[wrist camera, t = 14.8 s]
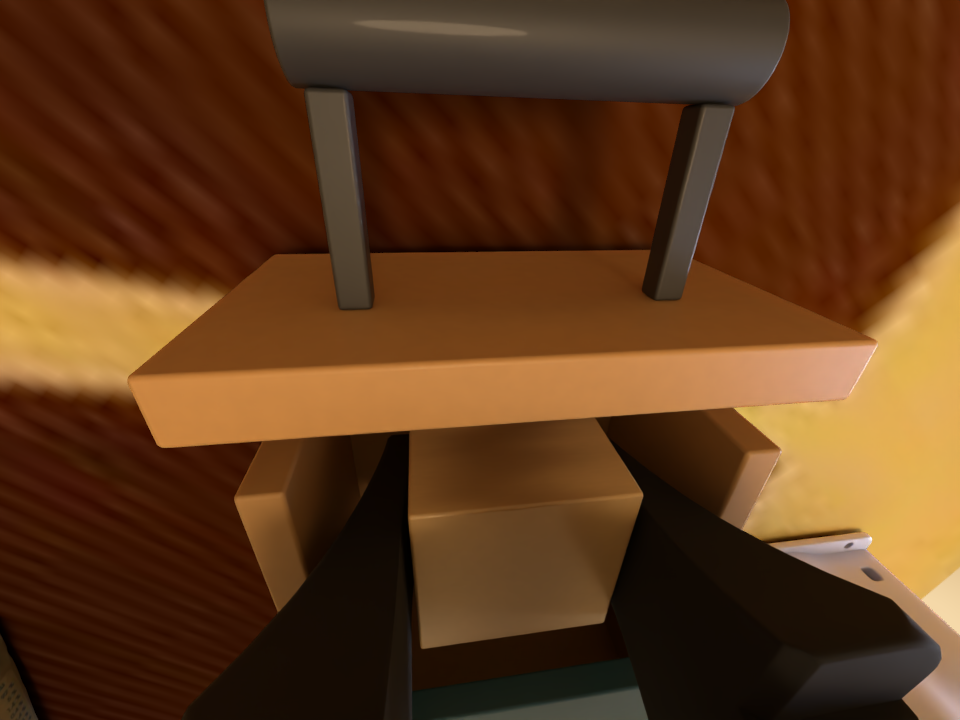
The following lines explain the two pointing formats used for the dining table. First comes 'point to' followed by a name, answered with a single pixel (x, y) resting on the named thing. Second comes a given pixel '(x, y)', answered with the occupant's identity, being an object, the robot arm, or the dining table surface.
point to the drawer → (498, 295)
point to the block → (516, 528)
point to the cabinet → (539, 696)
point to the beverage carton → (12, 690)
